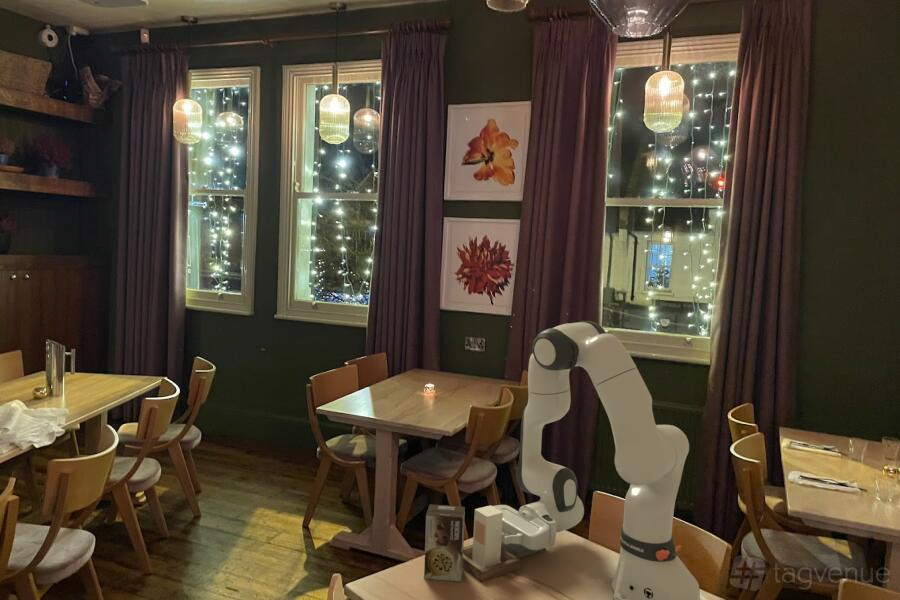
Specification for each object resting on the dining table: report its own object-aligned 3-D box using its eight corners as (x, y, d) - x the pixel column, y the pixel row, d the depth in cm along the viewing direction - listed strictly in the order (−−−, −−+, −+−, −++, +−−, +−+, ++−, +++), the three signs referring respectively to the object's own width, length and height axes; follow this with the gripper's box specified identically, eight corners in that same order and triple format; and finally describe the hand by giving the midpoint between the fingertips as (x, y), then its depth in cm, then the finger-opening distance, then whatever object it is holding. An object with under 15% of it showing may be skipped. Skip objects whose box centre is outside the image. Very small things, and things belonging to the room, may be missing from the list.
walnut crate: (520, 568, 164) (520, 559, 163) (481, 581, 156) (482, 571, 156) (489, 548, 173) (490, 539, 173) (452, 559, 166) (452, 550, 166)
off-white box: (499, 566, 164) (503, 512, 163) (483, 571, 161) (486, 516, 160) (487, 557, 168) (490, 505, 167) (471, 562, 165) (474, 509, 164)
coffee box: (462, 569, 162) (466, 506, 160) (460, 582, 156) (464, 517, 154) (426, 565, 163) (429, 503, 161) (422, 578, 157) (425, 513, 155)
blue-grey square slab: (545, 549, 175) (545, 543, 175) (516, 558, 169) (517, 552, 169) (520, 534, 183) (520, 529, 183) (492, 542, 177) (492, 537, 177)
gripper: (508, 495, 181) (467, 505, 173) (560, 524, 164) (518, 536, 157) (506, 517, 182) (466, 528, 174) (558, 548, 165) (517, 561, 157)
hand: (491, 532), depth 165 cm, fingers open, 8 cm apart
